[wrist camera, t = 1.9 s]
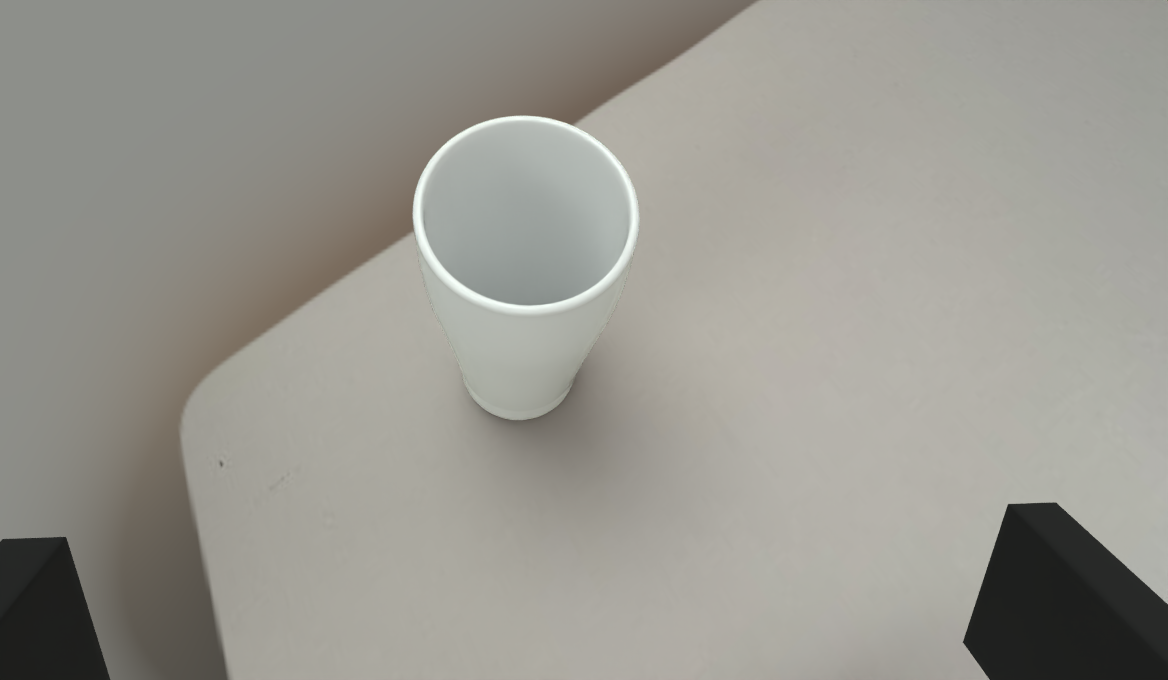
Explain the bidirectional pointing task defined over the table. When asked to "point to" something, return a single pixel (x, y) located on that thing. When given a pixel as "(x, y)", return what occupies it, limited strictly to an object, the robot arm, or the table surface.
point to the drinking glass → (524, 255)
